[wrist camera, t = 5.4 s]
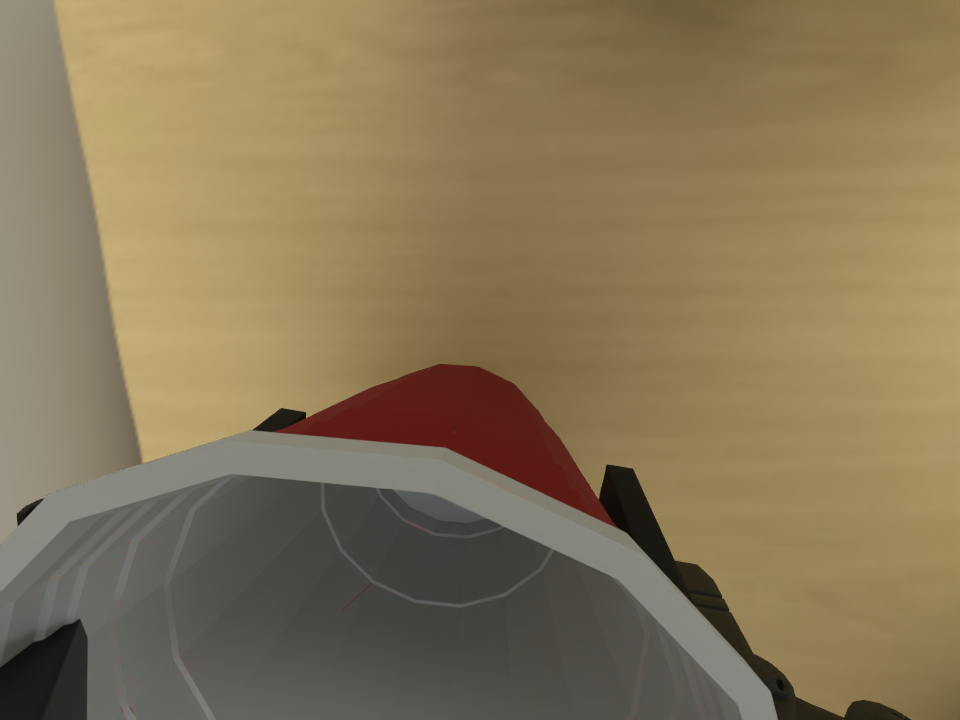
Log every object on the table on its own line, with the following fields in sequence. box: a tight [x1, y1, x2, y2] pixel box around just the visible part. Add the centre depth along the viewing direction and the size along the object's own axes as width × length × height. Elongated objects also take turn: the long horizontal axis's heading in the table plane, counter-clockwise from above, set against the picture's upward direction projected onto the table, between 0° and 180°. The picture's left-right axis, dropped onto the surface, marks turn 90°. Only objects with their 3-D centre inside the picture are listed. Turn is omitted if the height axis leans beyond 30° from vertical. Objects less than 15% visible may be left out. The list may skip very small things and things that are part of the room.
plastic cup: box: [0, 364, 778, 720], centre depth 12 cm, size 11×11×12 cm
